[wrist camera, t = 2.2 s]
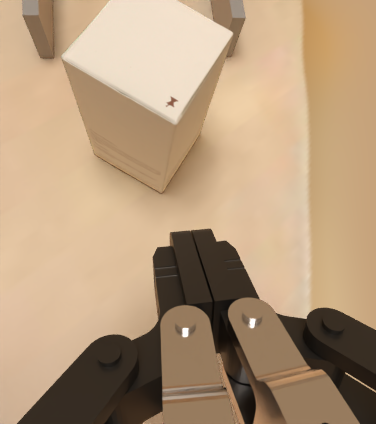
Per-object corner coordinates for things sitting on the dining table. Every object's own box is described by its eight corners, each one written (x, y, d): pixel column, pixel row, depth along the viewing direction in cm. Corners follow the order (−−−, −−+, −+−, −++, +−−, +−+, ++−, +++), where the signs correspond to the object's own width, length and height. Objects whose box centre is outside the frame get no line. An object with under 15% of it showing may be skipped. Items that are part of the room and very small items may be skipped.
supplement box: (202, 132, 32) (240, 32, 20) (161, 196, 30) (176, 128, 18) (135, 92, 32) (132, -32, 20) (90, 153, 30) (55, 55, 18)
